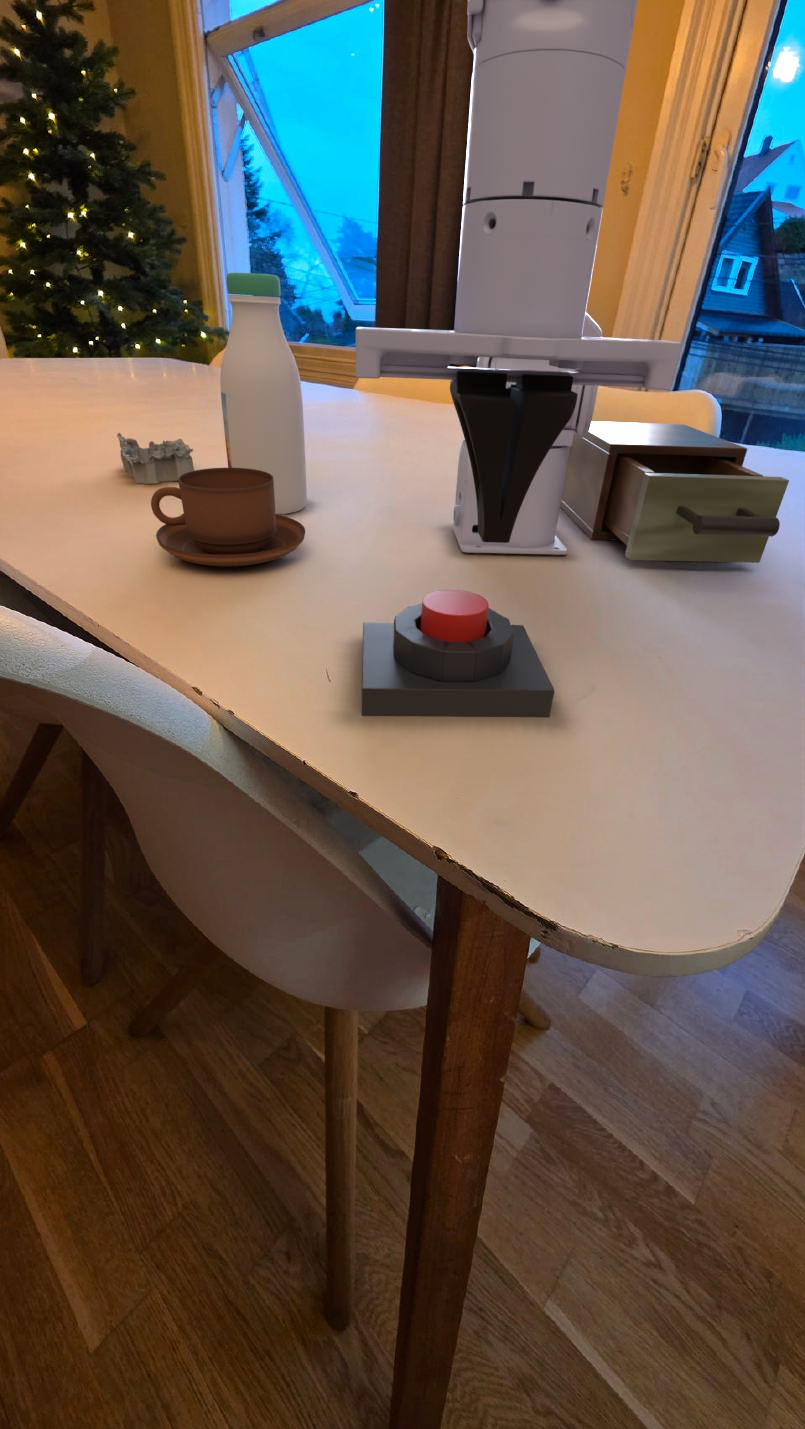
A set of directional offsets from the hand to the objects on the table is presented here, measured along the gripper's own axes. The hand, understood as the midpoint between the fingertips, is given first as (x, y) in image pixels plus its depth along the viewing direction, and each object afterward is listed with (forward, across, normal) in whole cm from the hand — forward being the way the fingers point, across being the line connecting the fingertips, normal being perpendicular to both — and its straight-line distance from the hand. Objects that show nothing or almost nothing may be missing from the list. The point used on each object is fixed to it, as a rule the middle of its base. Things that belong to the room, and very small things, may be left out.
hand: (493, 537), depth 33 cm
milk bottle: (+8, -17, +35) cm, 39 cm away
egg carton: (+8, -32, +48) cm, 58 cm away
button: (+5, -2, -1) cm, 5 cm away
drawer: (+7, +21, +21) cm, 31 cm away
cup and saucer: (+8, -18, +20) cm, 28 cm away
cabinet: (+8, +21, +33) cm, 40 cm away
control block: (+8, -2, -1) cm, 8 cm away
